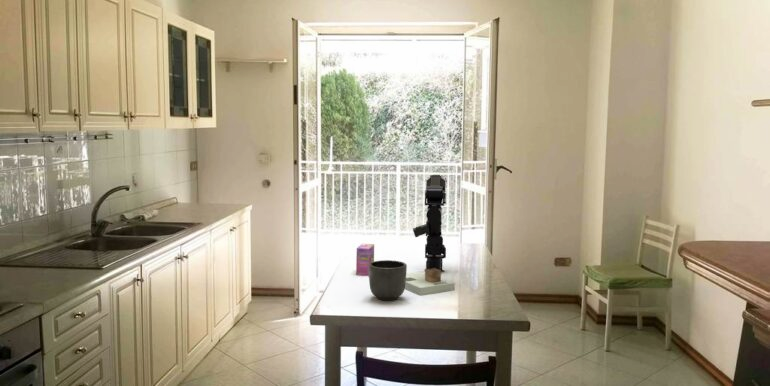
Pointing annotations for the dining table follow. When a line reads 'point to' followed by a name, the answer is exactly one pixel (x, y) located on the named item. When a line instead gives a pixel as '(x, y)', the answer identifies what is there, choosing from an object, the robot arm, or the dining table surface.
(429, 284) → the trap tray
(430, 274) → the block
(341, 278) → the dining table surface
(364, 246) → the box
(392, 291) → the planter
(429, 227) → the robot arm
